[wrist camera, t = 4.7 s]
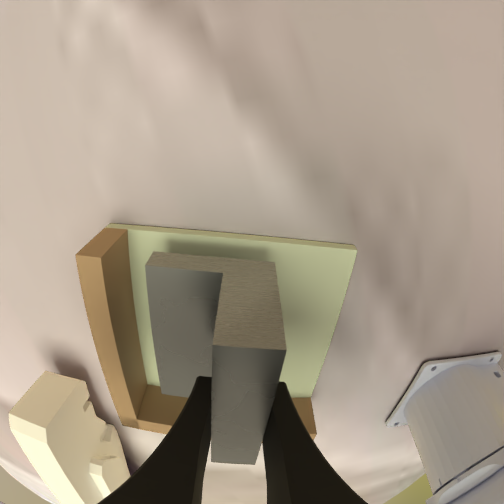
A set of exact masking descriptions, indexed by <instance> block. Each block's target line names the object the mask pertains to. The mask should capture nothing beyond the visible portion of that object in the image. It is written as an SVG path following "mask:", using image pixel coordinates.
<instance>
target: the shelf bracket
mask: <svg viewBox="0 0 504 504" xmlns="http://www.w3.org/2000/svg"><path fill="white" fill-rule="evenodd" d="M89 396H90V395H89V392H88V389H87V385H86V382H85V381H82V380H79V379H75V378H71V377H67V376H63V375H59V374H56V373H52V372H48V371H45V372H44V373H43V374H42V375H41V376H40V377H39V379H38V380H37V381H36V382H35V383H34V384H33V385H32V386H31V387H30V389H29V390H28V391H27V392H26V393H25V394H24V395H23V397H22V398H21V399H20V400H19V401H18V402H17V403H16V405H15V406H14V407H13V408H12V409H11V410H10V412H9V424H10V429H11V430H12V432H13V434H14V436H15V438H16V439H17V441H18V443H19V444H20V446H21V448H22V449H23V451H24V453H25V454H26V456H27V457H28V459H29V461H30V462H31V464H32V465H33V467H34V468H35V470H36V471H37V473H38V474H39V475H40V477H41V478H42V480H43V481H44V482H45V484H46V485H47V487H48V488H49V489H50V491H51V492H52V493H53V494H54V496H55V497H56V498H57V500H58V501H59V502H60V503H61V504H97V503H99V502H100V501H101V500H103V499H104V498H105V497H107V496H108V495H109V494H111V493H112V492H113V491H115V490H116V489H117V488H118V487H119V486H121V485H122V484H123V483H124V482H125V481H126V480H127V479H128V478H129V477H131V476H130V473H129V470H128V467H127V463H126V460H125V456H124V452H123V449H122V445H121V442H120V439H119V436H118V433H117V431H116V429H115V427H114V425H111V424H106V422H105V421H104V420H102V419H100V418H98V417H96V414H95V411H94V408H93V405H92V402H90V401H87V400H88V398H89Z"/></svg>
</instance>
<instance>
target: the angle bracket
mask: <svg viewBox="0 0 504 504" xmlns="http://www.w3.org/2000/svg"><path fill="white" fill-rule="evenodd" d="M145 272H146V284H147V294H148V304H149V313H150V321H151V329H152V337H153V344H154V351H155V358H156V364H157V370H158V376H159V382H160V387H161V393H162V394H166V395H172V396H180V397H187V398H189V396H190V394H191V391H192V389H193V387H194V384H195V381H196V378H197V377H198V376H206V377H212V391H211V462H218V463H231V464H251V465H255V463H256V460H257V456H258V453H259V450H260V446H261V443H262V440H263V436H264V433H265V429H266V426H267V423H268V419H269V416H270V412H271V408H272V405H273V401H274V398H275V394H276V390H277V386H278V383H279V379H280V375H281V371H282V367H283V363H284V359H285V355H286V351H287V347H286V340H285V332H284V324H283V317H282V309H281V302H280V295H279V287H278V280H277V273H276V266H275V262H268V261H256V260H245V259H234V258H223V257H212V256H201V255H190V254H179V253H168V252H157V251H153V253H152V254H151V256H150V258H149V259H148V261H147V263H146V264H145Z"/></svg>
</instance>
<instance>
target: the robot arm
mask: <svg viewBox="0 0 504 504" xmlns="http://www.w3.org/2000/svg"><path fill="white" fill-rule="evenodd" d="M501 357H502V354H501V353H500V352H494V353H488V354H482V355H475V356H468V357H461V358H453V359H445V360H436V361H428V362H426V363H424V364H423V365H422V367H421V369H420V370H419V372H418V374H417V376H416V377H415V379H414V381H413V382H412V384H411V385H410V387H409V389H408V390H407V392H406V393H405V395H404V396H403V398H402V400H401V401H400V403H399V404H398V406H397V407H396V409H395V410H394V411H393V413H392V414H391V416H390V417H389V419H388V420H387V421H386V423H385V424H386V427H388V428H389V427H396V426H402V425H409V428H410V431H411V433H412V436H413V438H414V441H415V444H416V447H417V449H418V452H419V455H420V458H421V460H422V463H423V466H424V469H425V472H426V475H427V478H428V481H429V484H430V487H431V490H432V493H433V495H434V496H432V497H431V498H429V499H427V500H426V504H504V371H503V370H502V368H501V367H500V365H499V364H498V362H499V360H500V358H501ZM211 391H212V377H206V376H198V377H197V378H196V381H195V384H194V387H193V389H192V391H191V394H190V396H189V398H188V400H187V402H186V404H185V406H184V407H183V409H182V411H181V413H180V414H179V416H178V418H177V420H176V421H175V423H174V424H173V426H172V427H171V429H170V430H169V432H168V433H167V435H166V436H165V438H164V439H163V440H162V442H161V443H160V444H159V446H158V447H157V448H156V449H155V451H154V452H153V453H152V454H151V456H150V457H149V458H148V459H147V460H146V461H145V462H144V463H143V464H142V466H141V467H140V468H139V469H138V470H137V471H136V472H135V473H134V474H133V475H132V476H131V477H129V478H128V479H127V480H126V481H125V482H124V483H123V484H122V485H121V486H119V487H118V488H117V489H116V490H115V491H113V492H112V493H111V494H109V495H108V496H107V497H105V498H104V499H103V500H101V501H100V502H99V503H97V504H201V500H202V487H203V478H204V472H205V467H206V462H207V456H208V451H209V446H210V441H211ZM262 443H263V452H264V461H265V470H266V479H267V504H368V503H366V502H365V501H364V500H363V499H362V498H361V497H360V496H359V495H357V494H356V493H355V492H354V491H353V490H352V489H351V488H350V487H349V486H348V485H347V484H346V483H345V481H344V480H343V479H342V478H341V477H340V476H339V475H338V474H337V473H336V471H335V470H334V469H333V468H332V467H331V465H330V464H329V463H328V461H327V460H326V459H325V457H324V456H323V455H322V453H321V452H320V450H319V449H318V447H317V446H316V444H315V443H314V441H313V439H312V438H311V436H310V434H309V433H308V431H307V429H306V427H305V425H304V424H303V422H302V420H301V418H300V416H299V414H298V412H297V410H296V408H295V405H294V403H293V401H292V398H291V396H290V393H289V391H288V388H287V385H286V383H285V382H279V383H278V386H277V390H276V394H275V398H274V401H273V405H272V408H271V412H270V416H269V419H268V423H267V426H266V429H265V433H264V436H263V440H262ZM0 504H4V503H3V502H1V501H0Z"/></svg>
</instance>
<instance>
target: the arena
mask: <svg viewBox="0 0 504 504" xmlns="http://www.w3.org/2000/svg"><path fill="white" fill-rule="evenodd" d="M153 251H157V252H168V253H179V254H190V255H201V256H212V257H223V258H234V259H245V260H256V261H268V262H275V266H276V273H277V280H278V287H279V295H280V302H281V309H282V317H283V324H284V332H285V340H286V347H287V351H286V355H285V359H284V363H283V367H282V371H281V375H280V379H279V382H285V383H286V385H287V388H288V391H289V393H290V396H291V398H292V401H293V403H294V405H295V408H296V410H297V412H298V414H299V416H300V418H301V420H302V422H303V424H304V425H305V427H306V429H307V431H308V433H309V434H310V436H311V438H312V439H313V440H314V438H315V436H316V434H317V432H316V426H315V420H314V415H313V409H312V403H311V395H312V392H313V390H314V387H315V385H316V382H317V379H318V377H319V374H320V371H321V368H322V366H323V363H324V360H325V357H326V354H327V351H328V348H329V345H330V342H331V339H332V336H333V333H334V330H335V327H336V324H337V321H338V318H339V314H340V311H341V308H342V305H343V301H344V298H345V295H346V291H347V288H348V284H349V280H350V277H351V273H352V270H353V266H354V262H355V258H356V254H357V249H356V247H355V246H354V245H348V244H338V243H329V242H319V241H309V240H299V239H289V238H279V237H268V236H257V235H247V234H236V233H224V232H213V231H202V230H190V229H178V228H165V227H153V226H140V225H127V224H113V223H110V224H109V225H108V226H106V227H105V228H104V229H103V230H102V231H101V232H100V233H99V234H97V235H96V236H95V237H94V238H93V239H92V240H91V241H90V242H89V243H88V244H86V245H85V246H84V247H83V248H82V249H81V250H80V251H79V252H78V253H77V254H76V261H77V267H78V273H79V279H80V284H81V289H82V294H83V299H84V303H85V308H86V312H87V316H88V320H89V324H90V328H91V332H92V336H93V340H94V343H95V347H96V350H97V354H98V357H99V361H100V364H101V367H102V370H103V373H104V376H105V380H106V382H107V385H108V388H109V391H110V394H111V397H112V400H113V402H114V405H115V408H116V410H117V413H118V415H119V418H120V420H121V423H122V425H123V426H128V427H132V428H137V429H142V430H147V431H152V432H157V433H163V434H167V433H168V432H169V430H170V429H171V427H172V426H173V424H174V423H175V421H176V420H177V418H178V416H179V414H180V413H181V411H182V409H183V407H184V406H185V404H186V402H187V400H188V398H187V397H180V396H172V395H166V394H162V393H161V387H160V382H159V376H158V370H157V364H156V358H155V351H154V344H153V337H152V329H151V321H150V313H149V304H148V294H147V284H146V272H145V264H146V263H147V261H148V259H149V258H150V256H151V254H152V253H153Z"/></svg>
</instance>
